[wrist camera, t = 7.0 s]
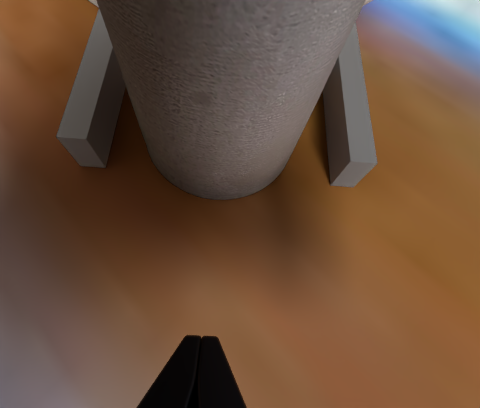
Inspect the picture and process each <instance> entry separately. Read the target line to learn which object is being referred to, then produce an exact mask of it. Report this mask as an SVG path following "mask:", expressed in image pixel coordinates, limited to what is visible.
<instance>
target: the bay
mask: <svg viewBox="0 0 480 408" xmlns="http://www.w3.org/2000/svg"><path fill="white" fill-rule="evenodd" d="M122 75H123V74H122V72H121V69H120V66H119V63H118V60H117V58H116V56H115V52H114V49H113V46H112V43H111V40H110V37H109V34H108V31H107V29H106V26H105V23H104V20H103V17H102V14H101V12H100V9H99V10H98V13H97V16H96V19H95V22H94V25H93V28H92V31H91V34H90V37H89V40H88V43H87V46H86V49H85V52H84V55H83V58H82V61H81V64H80V67H79V70H78V73H77V76H76V79H75V82H74V85H73V88H72V91H71V94H70V97H69V100H68V103H67V106H66V109H65V112H64V115H63V117H62V120H61V123H60V126H59V129H58V132H57V135H56V137H57V139H58V140H59V141H60V142H61V143H62V145H63V146H64V147H65V148H66V149H67V151H68V152H69V153H70V154H71V155H72V157H73V158H74V159H75V160H76V161H77V163H78V164H79V165H80V166H88V167H101V168H106V164H107V160H108V156H109V152H110V148H111V144H112V140H113V136H114V132H115V128H116V124H117V120H118V116H119V112H120V108H121V104H122V100H123V96H124V92H125V88H126V86H125V82H124V80H123V78H122ZM323 100H324V112H325V124H326V136H327V149H328V161H329V173H330V185H332V186H345V187H354V186H355V185H356V184H357V183H358V182H359V181H360V180H361V179H362V178H363V177H364V176H365V175H366V174H367V173H368V172H369V171H370V170H371V169H372V168H373V167H374V166H375V165H376V164H377V158H376V151H375V145H374V138H373V132H372V125H371V119H370V112H369V106H368V99H367V93H366V86H365V80H364V73H363V67H362V60H361V54H360V47H359V41H358V34H357V28H356V21H355V23H354V25H353V27H352V30H351V32H350V34H349V36H348V38H347V40H346V42H345V44H344V46H343V48H342V50H341V52H340V54H339V56H338V58H337V60H336V63H335V65H334V67H333V69H332V71H331V73H330V75H329V77H328V80H327V82H326V84H325V86H324V89H323Z"/></svg>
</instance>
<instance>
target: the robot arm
mask: <svg viewBox="0 0 480 408" xmlns="http://www.w3.org/2000/svg"><path fill="white" fill-rule="evenodd" d="M137 408H247V407H246V405H245V402H244V400H243V398H242V395H241V393H240V390H239V388H238V385H237V383H236V380H235V378H234V376H233V373H232V371H231V368H230V366H229V363H228V361H227V358H226V356H225V353H224V351H223V349H222V346H221V344H220V341H219V339H218V337H216V336H203V337H202V339H201V336H197V335H187V336H185V337H184V338H183V340H182V341H181V343H180V344H179V346H178V347H177V349H176V350H175V352H174V353H173V355H172V356H171V358H170V359H169V361H168V362H167V364H166V365H165V367H164V368H163V369H162V371H161V372H160V374H159V375H158V377H157V378H156V380H155V381H154V383H153V384H152V386H151V387H150V389H149V390H148V392H147V393H146V395H145V396H144V398H143V399H142V400H141V402H140V403H139V405H138V406H137Z"/></svg>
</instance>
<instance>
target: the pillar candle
mask: <svg viewBox="0 0 480 408" xmlns="http://www.w3.org/2000/svg"><path fill="white" fill-rule="evenodd" d="M96 1H97V4H98V6H99V9H100V12H101V14H102V17H103V20H104V23H105V26H106V29H107V31H108V34H109V37H110V40H111V43H112V46H113V49H114V52H115V56H116V58H117V60H118V63H119V66H120V69H121V72H122V74H123V75H122V78H123V80H124V82H125V86H126V88H127V91H128V95H129V97H130V100H131V102H132V106H133V109H134V112H135V114H136V117H137V120H138V123H139V126H140V129H141V131H142V135H143V138H144V140H145V142H146V144H147V145H146V146H147V149H148V153H149V155H150V157H151V160H152V162H153V163H154V165H155V166H156V168H157V169H158V170H159V172H160V173H161V174H162V175H163V176H164V177H165V178H166V179H167V180H168V181H169V182H171V183H172V184H173V185H175V186H176V187H178V188H180V189H182V190H184V191H186V192H187V193H190V194H192V195H195V196H198V197H201V198H208V199H213V200H228V199H235V198H241V197H245V196H248V195H251V194H253V193H255V192H257V191H260V190H262V189H263V188H265V187H266V186H268V185H269V184H270V183H272V182H273V181H274V180H275V179H276V177H277V176H278V175H279V174H280V173H281V172H282V170H283V169H284V167H285V165H286V163H287V162H288V160H289V158H290V156H291V154H292V152H293V150H294V148H295V146H296V144H297V142H298V140H299V138H300V136H301V134H302V131H303V129H304V127H305V126H306V123H307V121H308V119H309V117H310V115H311V113H312V111H313V109H314V107H315V105H316V103H317V101H318V99H319V97H320V95H321V92H322V91H323V89H324V86H325V84H326V82H327V80H328V77H329V75H330V73H331V71H332V69H333V67H334V65H335V63H336V60H337V58H338V56H339V54H340V52H341V50H342V48H343V46H344V44H345V42H346V40H347V38H348V36H349V34H350V32H351V30H352V27H353V25H354V23H355V21H356V19H357V17H358V15H359V13H360V11H361V9H362V7H363V5H364V3H365V0H96Z"/></svg>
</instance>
